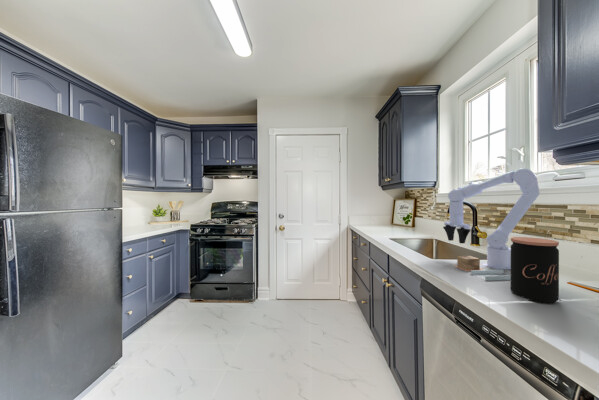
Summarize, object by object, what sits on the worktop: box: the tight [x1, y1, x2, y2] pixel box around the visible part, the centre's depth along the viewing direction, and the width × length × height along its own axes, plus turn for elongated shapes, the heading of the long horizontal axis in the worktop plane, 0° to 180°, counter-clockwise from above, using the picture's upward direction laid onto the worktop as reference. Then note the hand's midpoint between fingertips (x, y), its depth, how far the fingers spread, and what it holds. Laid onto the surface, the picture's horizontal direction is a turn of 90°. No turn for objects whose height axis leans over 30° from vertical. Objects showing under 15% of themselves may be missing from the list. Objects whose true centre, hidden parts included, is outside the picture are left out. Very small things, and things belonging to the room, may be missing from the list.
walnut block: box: [456, 255, 481, 271], centre depth 101 cm, size 6×5×4 cm
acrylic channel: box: [470, 269, 511, 281], centre depth 90 cm, size 14×7×2 cm, turn 94°
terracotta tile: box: [454, 265, 484, 272], centre depth 101 cm, size 8×7×1 cm
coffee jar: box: [510, 236, 560, 305], centre depth 73 cm, size 11×11×18 cm
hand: (456, 241), depth 115 cm, fingers open, 7 cm apart
